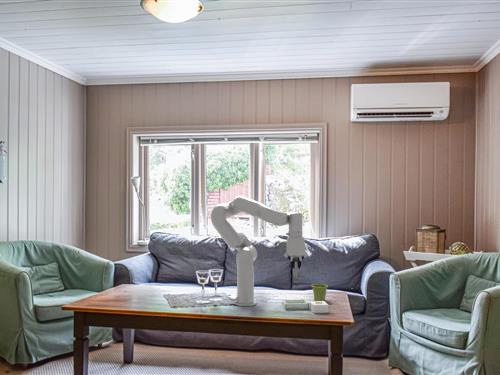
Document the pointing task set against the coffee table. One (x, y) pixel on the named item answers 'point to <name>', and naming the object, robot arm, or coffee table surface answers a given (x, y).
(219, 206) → the robot arm
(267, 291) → the coffee table surface
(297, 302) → the tray
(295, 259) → the pin
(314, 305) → the socket block
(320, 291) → the plant pot
